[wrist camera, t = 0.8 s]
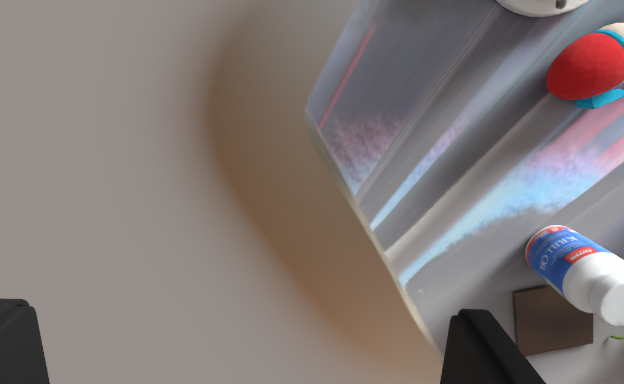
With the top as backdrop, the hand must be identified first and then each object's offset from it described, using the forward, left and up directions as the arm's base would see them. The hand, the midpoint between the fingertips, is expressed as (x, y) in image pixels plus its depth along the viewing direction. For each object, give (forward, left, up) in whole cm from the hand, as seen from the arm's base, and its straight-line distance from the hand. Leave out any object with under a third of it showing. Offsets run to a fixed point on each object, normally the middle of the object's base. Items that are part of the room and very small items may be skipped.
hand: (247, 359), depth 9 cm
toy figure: (-2, +29, -28) cm, 40 cm away
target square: (+24, +23, -28) cm, 43 cm away
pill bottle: (+16, +23, -28) cm, 40 cm away
